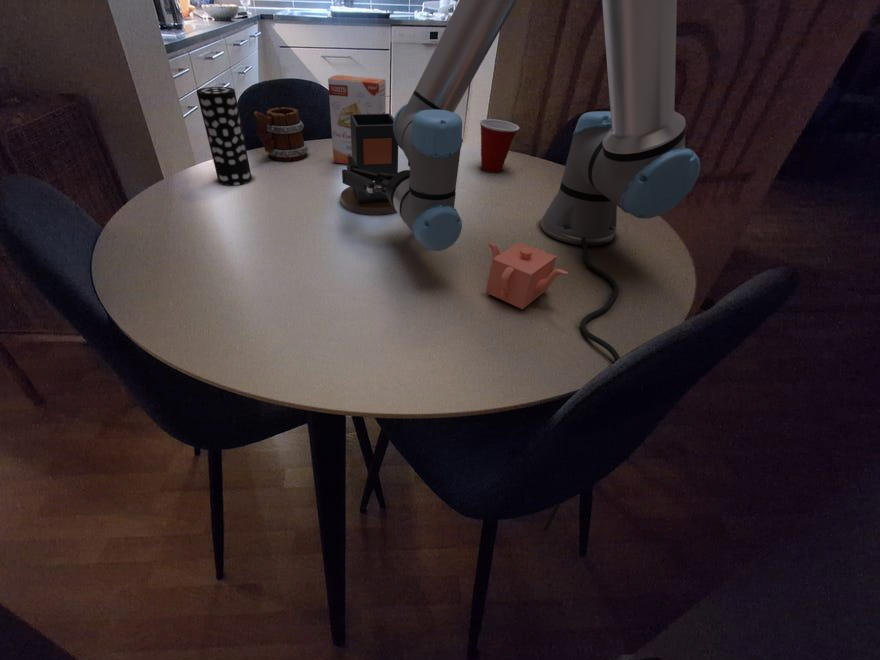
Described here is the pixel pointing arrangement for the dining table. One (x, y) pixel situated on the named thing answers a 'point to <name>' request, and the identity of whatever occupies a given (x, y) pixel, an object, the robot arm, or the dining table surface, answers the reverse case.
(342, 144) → the cracker box
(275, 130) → the mug
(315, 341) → the dining table surface
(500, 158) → the plastic cup
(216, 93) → the spotted tube
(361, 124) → the bin
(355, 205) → the disc
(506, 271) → the teapot
